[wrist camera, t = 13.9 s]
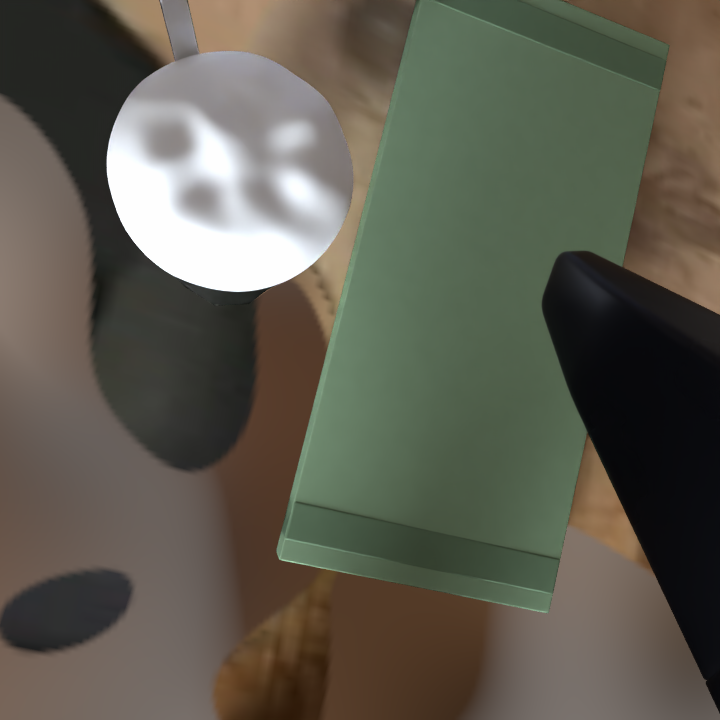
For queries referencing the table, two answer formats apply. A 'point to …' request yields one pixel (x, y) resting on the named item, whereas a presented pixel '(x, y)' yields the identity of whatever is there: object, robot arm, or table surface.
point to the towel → (472, 301)
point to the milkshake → (228, 169)
